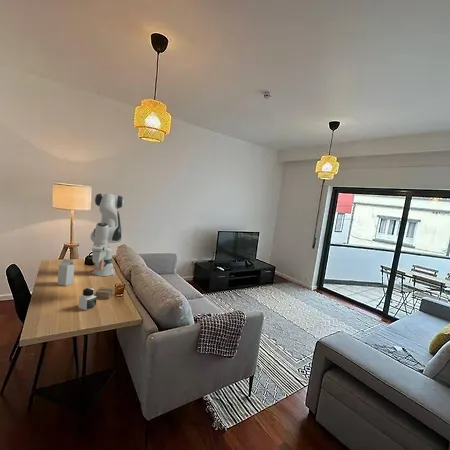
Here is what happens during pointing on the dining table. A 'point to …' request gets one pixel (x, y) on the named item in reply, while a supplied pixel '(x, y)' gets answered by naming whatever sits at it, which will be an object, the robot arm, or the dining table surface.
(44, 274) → the dining table surface
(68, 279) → the milk carton
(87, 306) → the medicine bottle
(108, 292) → the tan square block
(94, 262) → the pink block
